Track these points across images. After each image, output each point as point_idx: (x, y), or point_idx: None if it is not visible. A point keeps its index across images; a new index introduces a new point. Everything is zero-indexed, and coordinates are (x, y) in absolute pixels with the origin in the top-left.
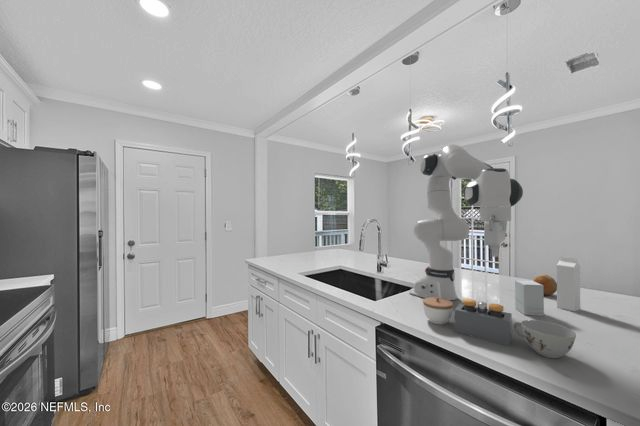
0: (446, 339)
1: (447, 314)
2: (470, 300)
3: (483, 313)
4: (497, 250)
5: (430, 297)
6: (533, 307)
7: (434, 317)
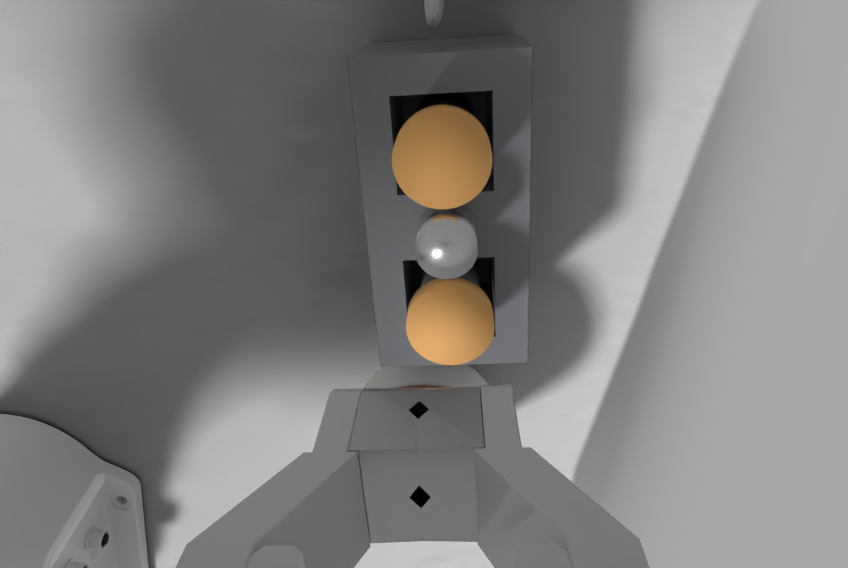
0: (631, 301)
1: (469, 377)
2: (433, 325)
3: (484, 213)
4: (557, 473)
5: (136, 515)
6: None
7: None
